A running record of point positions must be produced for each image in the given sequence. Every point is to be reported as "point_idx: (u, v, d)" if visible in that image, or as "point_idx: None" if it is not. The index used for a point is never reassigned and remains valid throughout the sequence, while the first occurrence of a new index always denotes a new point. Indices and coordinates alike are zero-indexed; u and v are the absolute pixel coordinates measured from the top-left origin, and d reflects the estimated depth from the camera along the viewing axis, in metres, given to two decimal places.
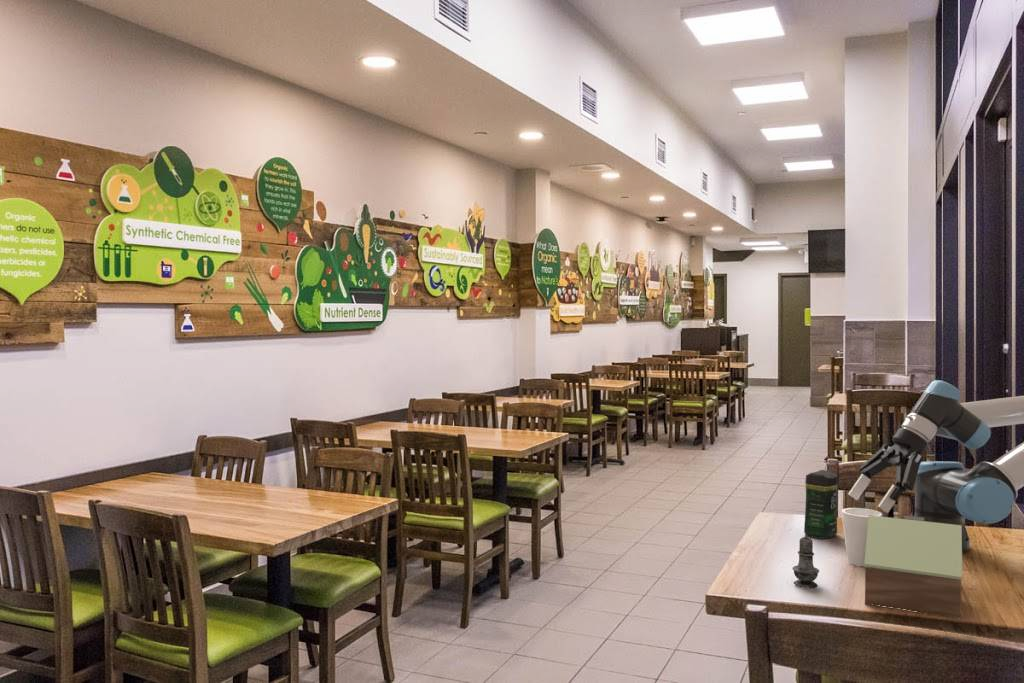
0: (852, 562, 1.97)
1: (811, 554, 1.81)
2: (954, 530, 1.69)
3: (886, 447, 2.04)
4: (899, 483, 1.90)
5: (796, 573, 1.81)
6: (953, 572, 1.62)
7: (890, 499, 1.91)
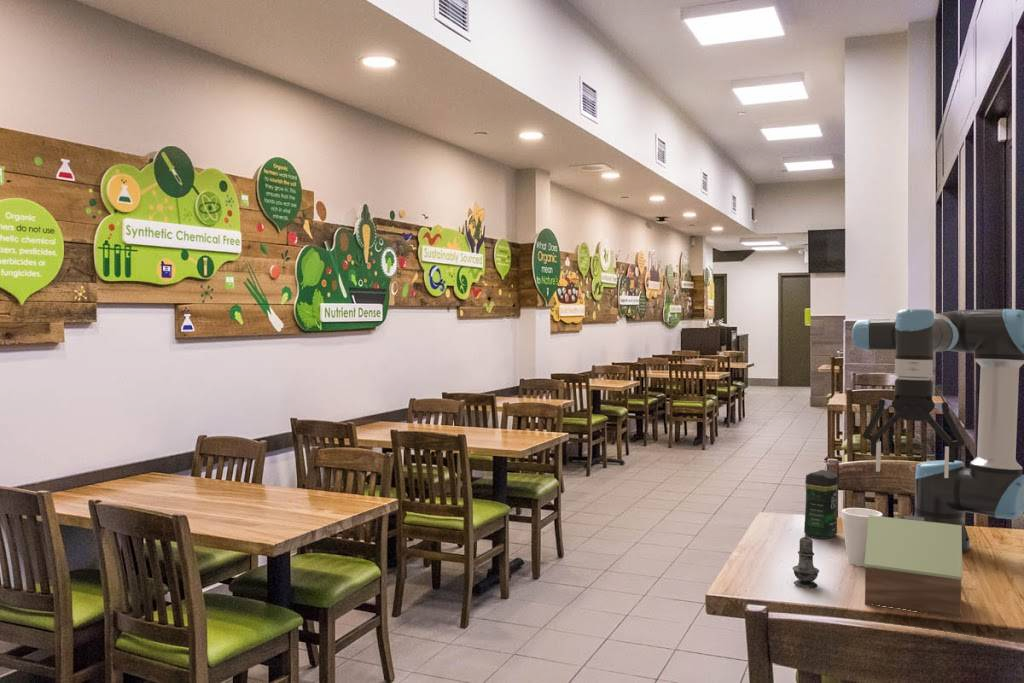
0: (852, 562, 1.97)
1: (811, 554, 1.81)
2: (954, 530, 1.69)
3: (884, 402, 1.76)
4: (954, 444, 1.69)
5: (796, 573, 1.81)
6: (953, 572, 1.62)
7: None
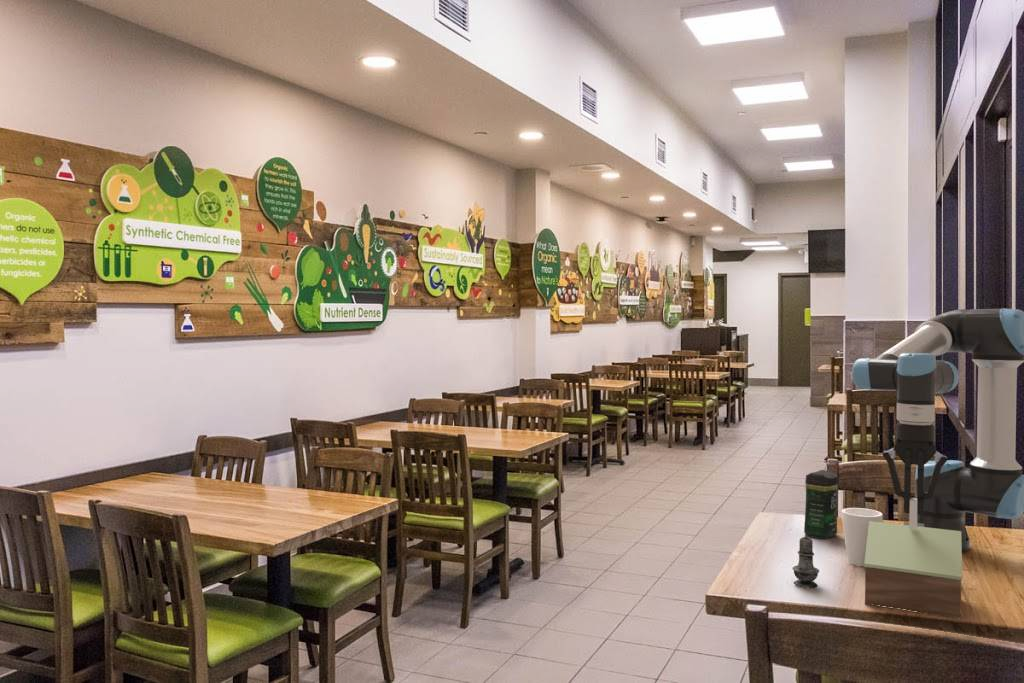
0: (852, 562, 1.97)
1: (811, 554, 1.81)
2: (954, 536, 1.70)
3: (888, 453, 1.75)
4: (922, 499, 1.72)
5: (796, 573, 1.81)
6: (953, 572, 1.62)
7: (917, 515, 1.73)
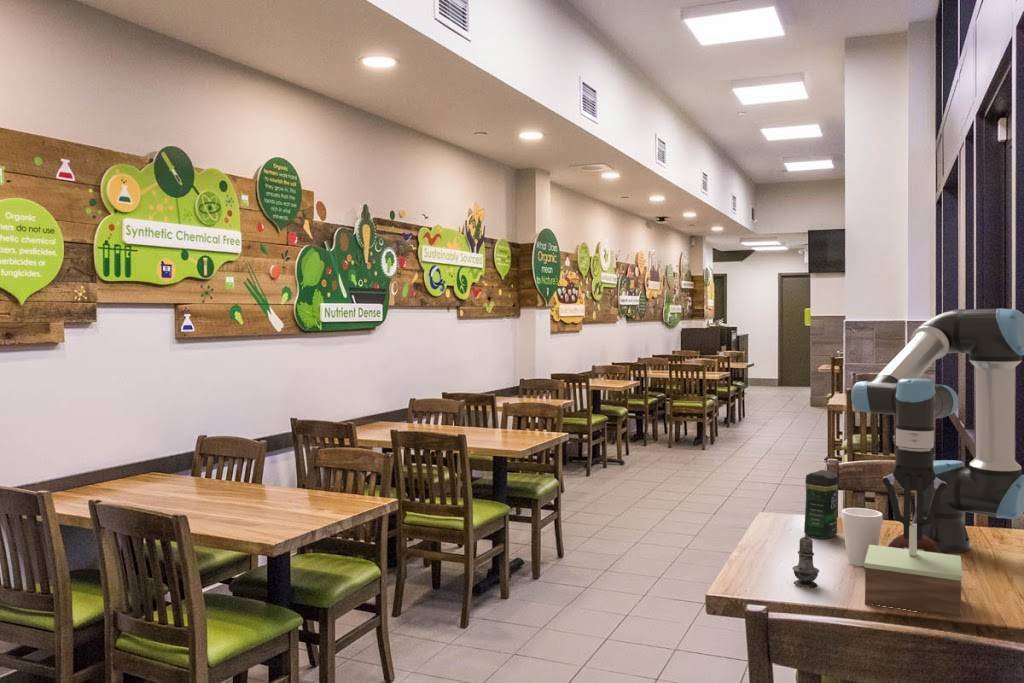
0: (852, 562, 1.97)
1: (811, 554, 1.81)
2: (953, 557, 1.72)
3: (887, 479, 1.75)
4: (922, 525, 1.72)
5: (796, 573, 1.81)
6: (953, 573, 1.62)
7: (916, 540, 1.73)
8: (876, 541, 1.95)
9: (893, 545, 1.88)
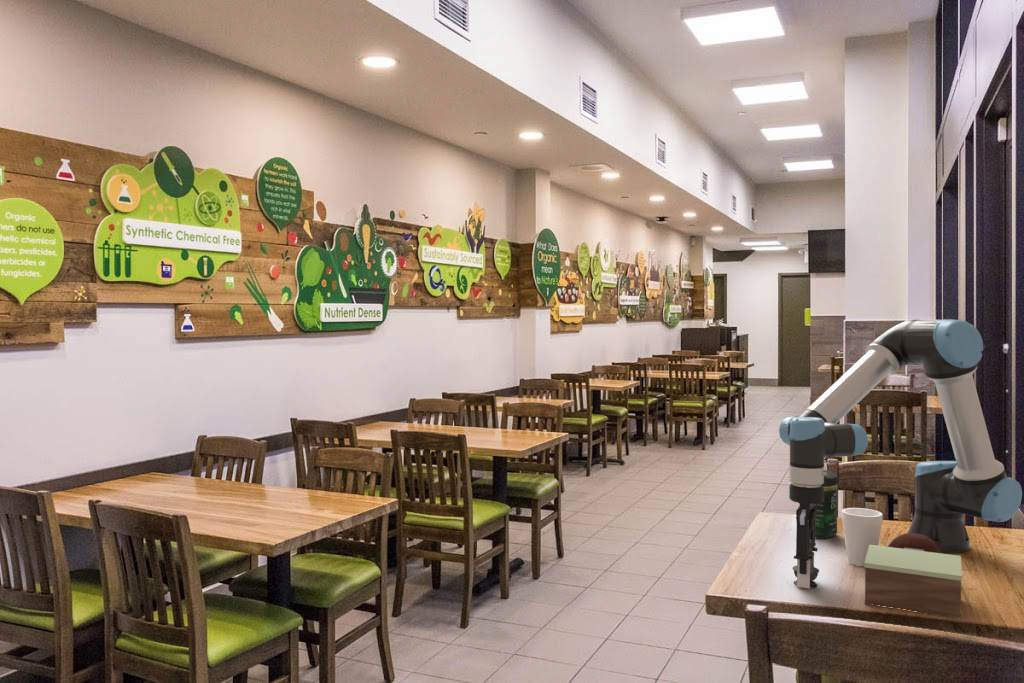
0: (852, 562, 1.97)
1: (811, 554, 1.81)
2: (953, 557, 1.72)
3: None
4: None
5: (796, 573, 1.81)
6: (953, 573, 1.62)
7: None
8: (876, 541, 1.95)
9: (893, 545, 1.88)
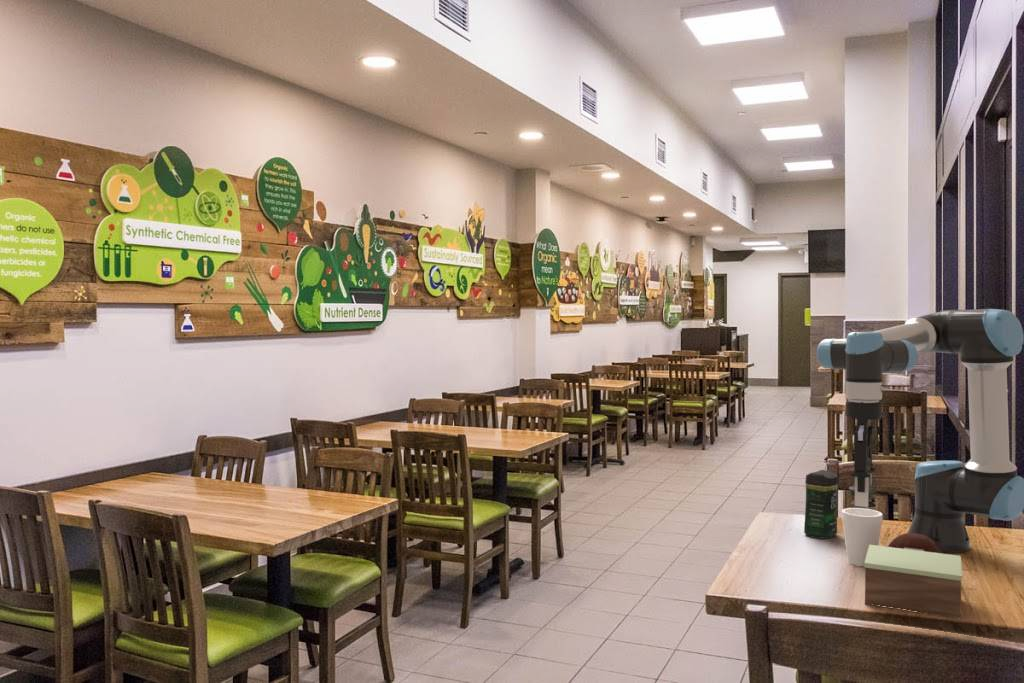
0: (852, 562, 1.97)
1: (869, 472, 1.74)
2: (953, 557, 1.72)
3: None
4: None
5: (853, 492, 1.75)
6: (953, 573, 1.62)
7: None
8: (876, 541, 1.95)
9: (893, 545, 1.88)
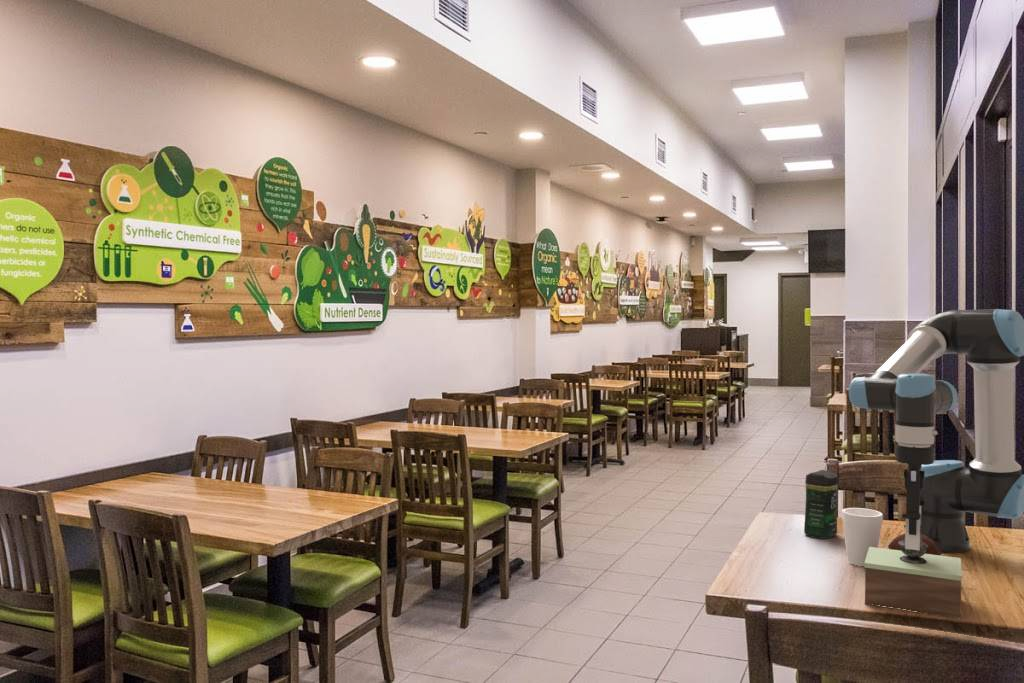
0: (852, 562, 1.97)
1: (920, 527, 1.69)
2: (953, 559, 1.72)
3: None
4: None
5: (903, 548, 1.70)
6: (953, 573, 1.62)
7: None
8: (876, 541, 1.95)
9: (893, 545, 1.88)
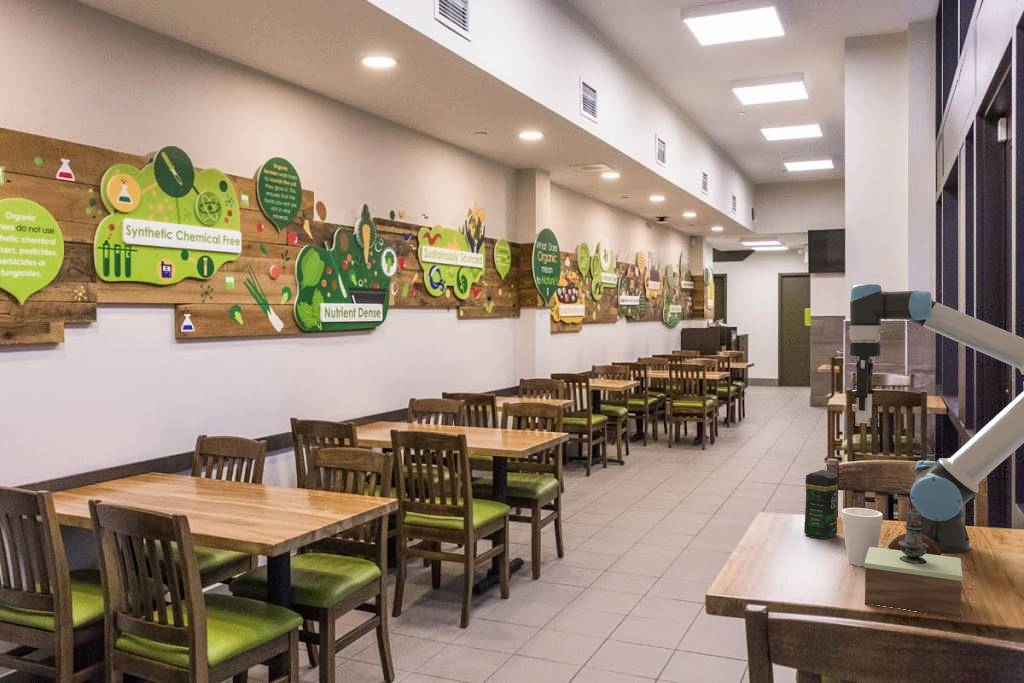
0: (852, 562, 1.97)
1: (920, 527, 1.69)
2: (953, 559, 1.72)
3: None
4: None
5: (903, 548, 1.70)
6: (953, 573, 1.62)
7: None
8: (876, 541, 1.95)
9: (893, 545, 1.88)
